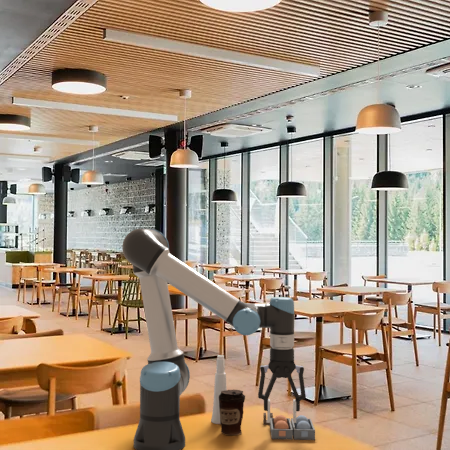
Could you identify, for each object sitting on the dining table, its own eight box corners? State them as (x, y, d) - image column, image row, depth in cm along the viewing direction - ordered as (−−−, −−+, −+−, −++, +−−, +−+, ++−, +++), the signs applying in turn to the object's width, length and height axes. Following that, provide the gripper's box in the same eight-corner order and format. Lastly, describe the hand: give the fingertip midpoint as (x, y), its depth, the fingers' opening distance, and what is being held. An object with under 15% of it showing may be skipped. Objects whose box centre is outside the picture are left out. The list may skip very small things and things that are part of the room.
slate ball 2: (297, 437, 188) (297, 423, 188) (295, 433, 192) (295, 418, 192) (311, 437, 187) (311, 423, 188) (309, 433, 192) (309, 419, 192)
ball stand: (263, 424, 202) (263, 415, 202) (263, 421, 205) (263, 412, 205) (273, 424, 202) (273, 415, 202) (272, 421, 205) (272, 412, 205)
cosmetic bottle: (232, 421, 205) (233, 355, 206) (220, 425, 201) (221, 357, 201) (219, 417, 209) (219, 353, 210) (207, 421, 205) (207, 355, 205)
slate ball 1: (295, 431, 194) (295, 417, 194) (294, 427, 198) (294, 413, 198) (309, 431, 193) (309, 417, 193) (307, 427, 198) (307, 413, 198)
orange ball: (274, 437, 188) (274, 422, 188) (274, 432, 192) (274, 418, 192) (289, 437, 188) (289, 422, 188) (288, 432, 192) (288, 418, 192)
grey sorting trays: (271, 439, 187) (271, 429, 187) (269, 427, 199) (270, 418, 199) (315, 440, 186) (315, 430, 186) (310, 427, 199) (310, 418, 199)
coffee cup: (242, 438, 188) (242, 395, 188) (215, 436, 189) (215, 394, 190) (246, 429, 196) (247, 389, 197) (221, 427, 198) (221, 387, 198)
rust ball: (273, 431, 194) (273, 417, 194) (273, 426, 198) (273, 413, 198) (287, 431, 194) (287, 417, 194) (286, 427, 198) (286, 413, 198)
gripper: (249, 349, 187) (249, 424, 186) (316, 349, 187) (315, 425, 186) (249, 344, 195) (248, 417, 194) (313, 345, 194) (312, 418, 193)
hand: (281, 421), depth 190 cm, fingers open, 7 cm apart
